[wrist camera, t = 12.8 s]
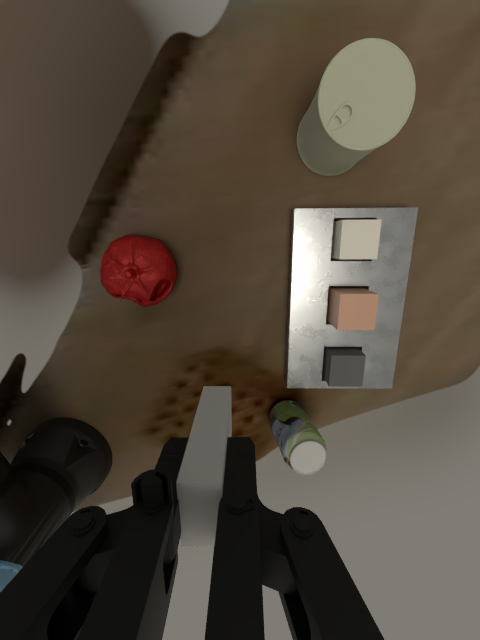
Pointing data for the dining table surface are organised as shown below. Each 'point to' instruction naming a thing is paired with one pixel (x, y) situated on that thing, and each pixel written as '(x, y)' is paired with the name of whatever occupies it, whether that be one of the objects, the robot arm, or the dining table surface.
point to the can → (356, 106)
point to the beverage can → (297, 438)
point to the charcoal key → (343, 366)
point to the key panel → (321, 272)
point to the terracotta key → (352, 308)
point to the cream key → (355, 239)
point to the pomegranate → (138, 270)
